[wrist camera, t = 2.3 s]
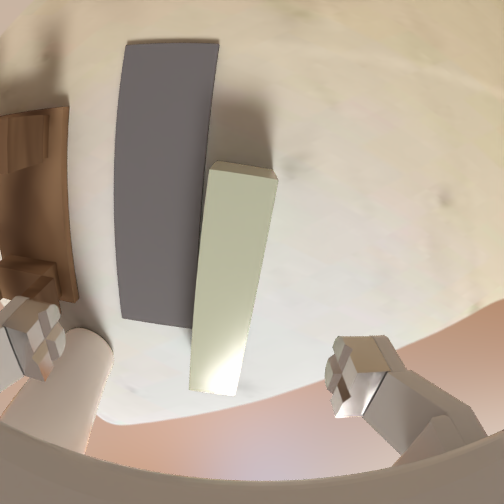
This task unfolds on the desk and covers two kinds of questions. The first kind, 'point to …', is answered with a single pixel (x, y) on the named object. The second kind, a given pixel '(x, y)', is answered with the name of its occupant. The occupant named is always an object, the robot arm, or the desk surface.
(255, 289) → the clay strip
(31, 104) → the desk surface
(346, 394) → the robot arm
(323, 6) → the desk surface
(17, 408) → the drinking glass
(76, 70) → the desk surface
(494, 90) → the desk surface
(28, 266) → the rack
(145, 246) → the pad
